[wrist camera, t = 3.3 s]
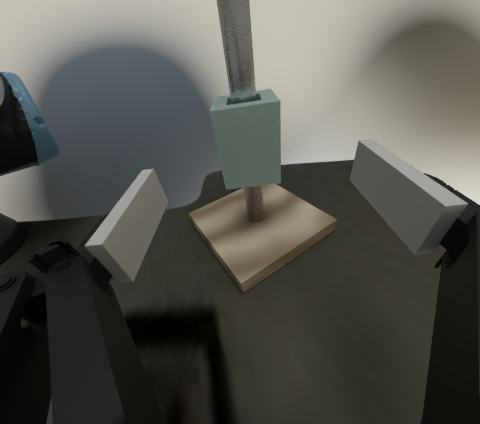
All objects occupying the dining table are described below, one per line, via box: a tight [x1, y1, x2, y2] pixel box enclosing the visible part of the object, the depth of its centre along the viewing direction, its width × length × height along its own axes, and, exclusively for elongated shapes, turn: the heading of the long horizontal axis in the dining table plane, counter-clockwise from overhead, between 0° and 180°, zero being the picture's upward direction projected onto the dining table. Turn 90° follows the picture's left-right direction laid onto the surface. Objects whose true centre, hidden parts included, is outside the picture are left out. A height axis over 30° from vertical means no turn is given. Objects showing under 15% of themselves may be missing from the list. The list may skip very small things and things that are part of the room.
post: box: [217, 0, 264, 222], centre depth 16 cm, size 5×5×40 cm
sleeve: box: [210, 89, 281, 189], centre depth 22 cm, size 6×6×8 cm
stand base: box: [189, 184, 337, 293], centre depth 30 cm, size 15×15×2 cm
